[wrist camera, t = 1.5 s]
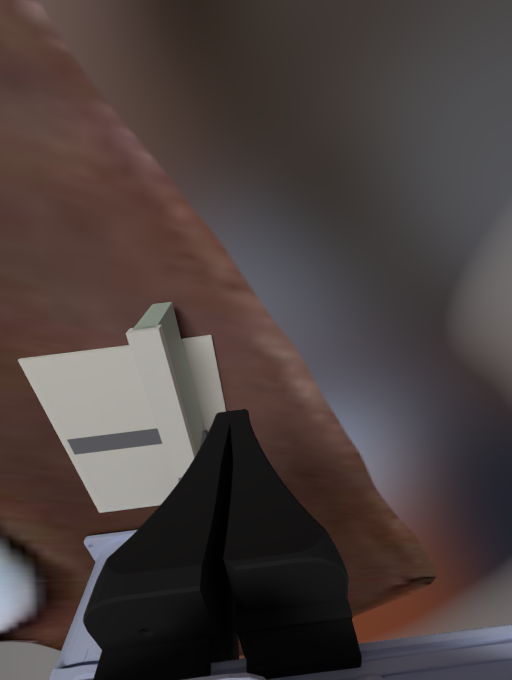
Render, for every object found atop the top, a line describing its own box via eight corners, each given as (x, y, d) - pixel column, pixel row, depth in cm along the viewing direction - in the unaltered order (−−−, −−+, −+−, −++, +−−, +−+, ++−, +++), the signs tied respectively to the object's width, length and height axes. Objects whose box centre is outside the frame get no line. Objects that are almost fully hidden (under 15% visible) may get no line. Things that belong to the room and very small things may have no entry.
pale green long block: (208, 440, 23) (203, 488, 19) (188, 443, 23) (178, 491, 19) (175, 301, 18) (158, 329, 14) (149, 304, 18) (125, 333, 14)
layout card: (241, 492, 27) (241, 494, 27) (100, 510, 27) (99, 512, 27) (211, 334, 20) (211, 336, 20) (19, 358, 20) (17, 360, 20)
